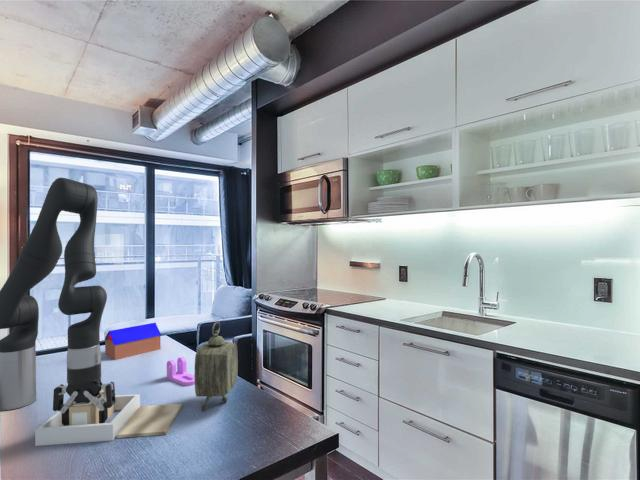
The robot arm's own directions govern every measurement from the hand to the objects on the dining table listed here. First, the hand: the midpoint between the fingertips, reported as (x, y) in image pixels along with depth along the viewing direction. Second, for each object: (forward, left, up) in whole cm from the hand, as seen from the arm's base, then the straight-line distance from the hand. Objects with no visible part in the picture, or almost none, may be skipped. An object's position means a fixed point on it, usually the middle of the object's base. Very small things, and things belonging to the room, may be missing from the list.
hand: (85, 424), depth 95 cm
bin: (0, +4, -2) cm, 5 cm away
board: (+15, +4, -2) cm, 16 cm away
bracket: (+17, +33, -3) cm, 37 cm away
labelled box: (0, 0, -2) cm, 2 cm away
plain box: (0, +9, -2) cm, 9 cm away
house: (-14, +71, -3) cm, 72 cm away
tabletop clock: (+32, +13, -2) cm, 35 cm away
